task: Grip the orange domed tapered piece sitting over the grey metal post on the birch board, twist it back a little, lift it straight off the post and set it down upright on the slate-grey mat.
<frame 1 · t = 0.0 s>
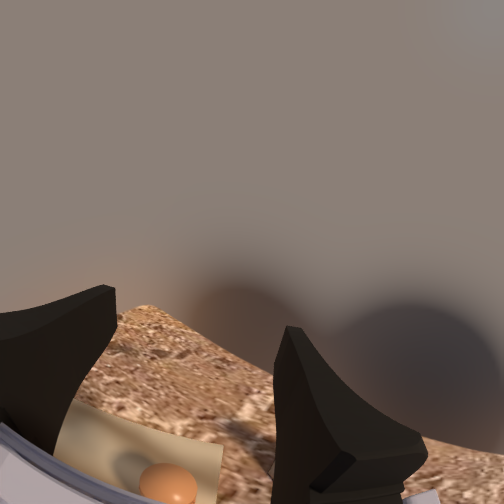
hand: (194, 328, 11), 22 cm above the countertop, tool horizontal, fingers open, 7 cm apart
board: (97, 492, 15), on the countertop
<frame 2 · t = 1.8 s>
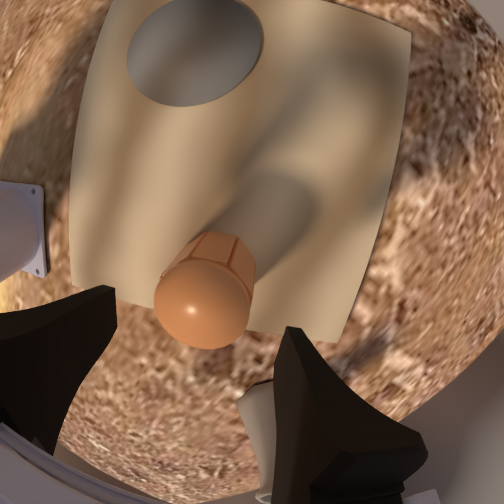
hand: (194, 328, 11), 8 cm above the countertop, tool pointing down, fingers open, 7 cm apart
flask: (278, 402, 23), on the countertop
board: (224, 147, 16), on the countertop
orange domed tapered piece: (217, 267, 17), point 1 cm above the countertop, touching board
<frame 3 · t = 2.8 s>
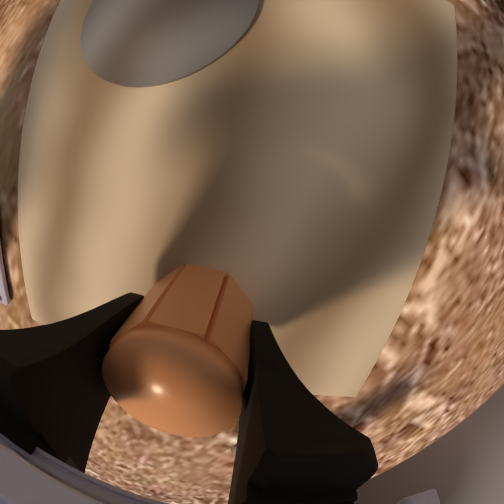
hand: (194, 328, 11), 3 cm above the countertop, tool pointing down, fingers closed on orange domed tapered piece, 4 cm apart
board: (208, 144, 11), on the countertop
orange domed tapered piece: (200, 313, 12), point 2 cm above the countertop, touching board, gripper
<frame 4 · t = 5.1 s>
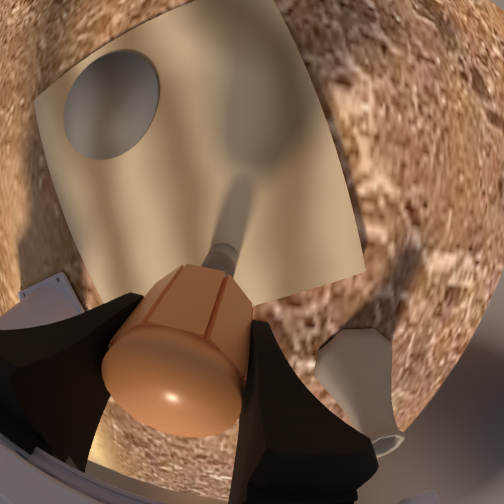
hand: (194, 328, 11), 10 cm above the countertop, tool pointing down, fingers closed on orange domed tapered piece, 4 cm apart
flask: (351, 356, 23), on the countertop
board: (177, 162, 18), on the countertop
orange domed tapered piece: (200, 313, 12), point 8 cm above the countertop, touching gripper
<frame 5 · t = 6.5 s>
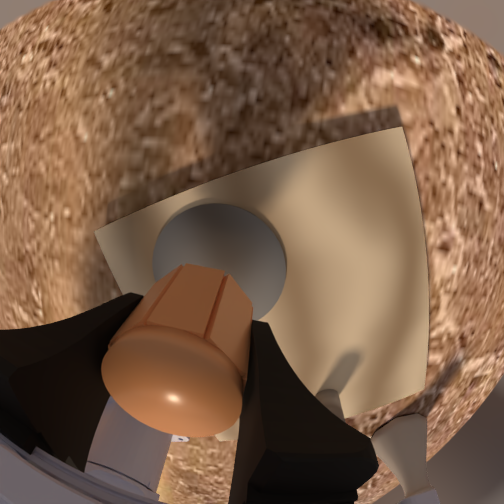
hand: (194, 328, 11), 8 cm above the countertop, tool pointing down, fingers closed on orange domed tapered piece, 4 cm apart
flask: (396, 429, 24), on the countertop
board: (291, 324, 19), on the countertop
orange domed tapered piece: (200, 312, 12), point 6 cm above the countertop, touching gripper
when the fingers open (4 cm above the countertop, at t = 7.5 s): orange domed tapered piece drops 1 cm, resting on board.
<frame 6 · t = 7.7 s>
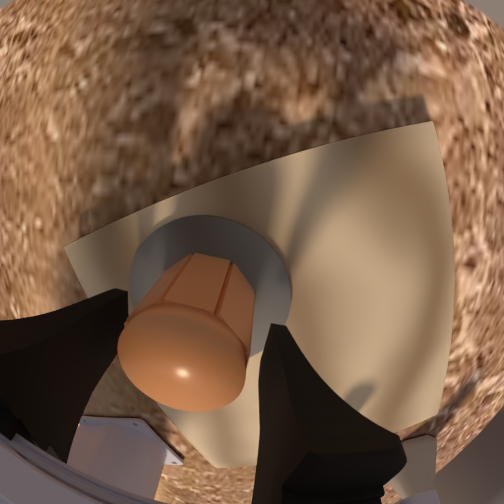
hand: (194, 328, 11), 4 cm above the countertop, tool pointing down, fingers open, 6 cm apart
flask: (404, 450, 21), on the countertop
board: (296, 354, 16), on the countertop
orange domed tapered piece: (205, 299, 13), point 2 cm above the countertop, touching board
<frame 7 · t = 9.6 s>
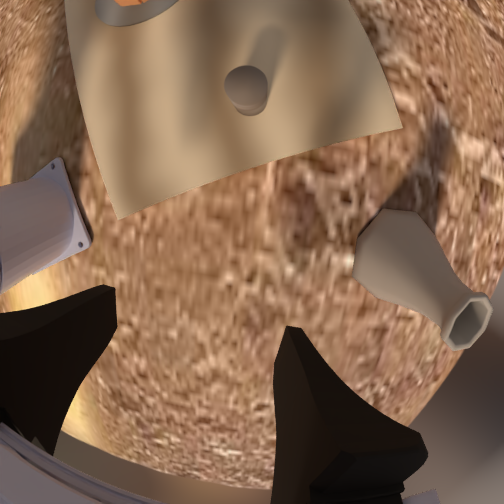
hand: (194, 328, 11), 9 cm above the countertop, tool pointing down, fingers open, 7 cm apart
flask: (393, 253, 19), on the countertop
board: (205, 28, 14), on the countertop
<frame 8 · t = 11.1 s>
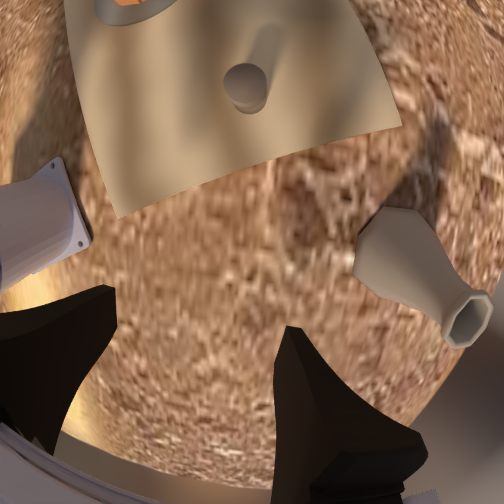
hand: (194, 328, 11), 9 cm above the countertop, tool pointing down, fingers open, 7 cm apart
flask: (394, 251, 19), on the countertop
board: (204, 27, 14), on the countertop
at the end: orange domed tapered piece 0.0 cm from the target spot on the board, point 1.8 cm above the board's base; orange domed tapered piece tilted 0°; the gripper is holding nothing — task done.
